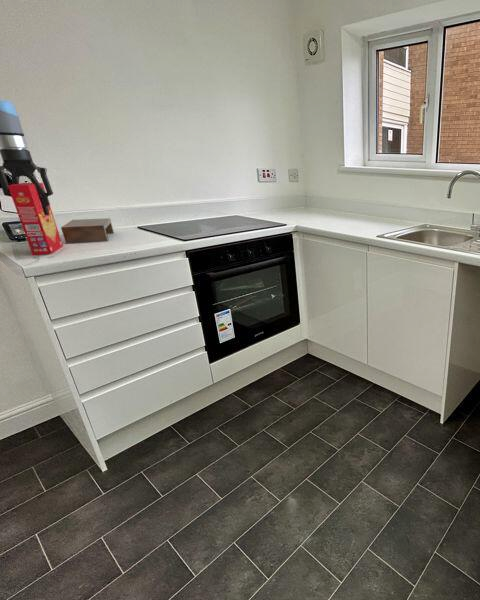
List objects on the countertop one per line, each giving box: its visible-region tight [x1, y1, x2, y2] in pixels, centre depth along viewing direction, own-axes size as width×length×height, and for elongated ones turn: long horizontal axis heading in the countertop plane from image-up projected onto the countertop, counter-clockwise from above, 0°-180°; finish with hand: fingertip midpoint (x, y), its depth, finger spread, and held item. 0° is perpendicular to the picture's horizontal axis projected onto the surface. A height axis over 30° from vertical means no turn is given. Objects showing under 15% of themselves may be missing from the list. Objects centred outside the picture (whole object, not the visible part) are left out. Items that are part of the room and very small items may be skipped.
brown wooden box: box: [60, 217, 115, 245], centre depth 160 cm, size 14×22×7 cm, turn 31°
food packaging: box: [8, 182, 64, 256], centre depth 133 cm, size 15×5×25 cm, turn 29°
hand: (36, 214), depth 133 cm, fingers closed on food packaging, 5 cm apart
